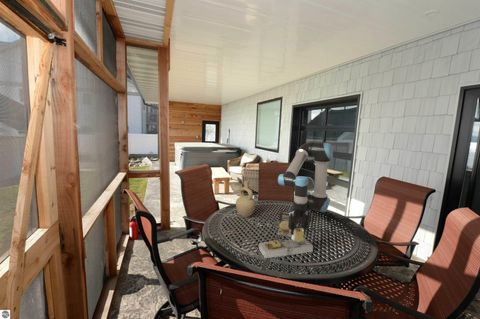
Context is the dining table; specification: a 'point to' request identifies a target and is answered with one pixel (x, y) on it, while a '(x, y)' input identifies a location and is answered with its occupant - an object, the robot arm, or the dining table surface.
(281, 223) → the coffee box
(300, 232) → the gold knobbed block
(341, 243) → the dining table surface
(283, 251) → the grey slotted tray
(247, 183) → the vase
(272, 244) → the drawer with knob
